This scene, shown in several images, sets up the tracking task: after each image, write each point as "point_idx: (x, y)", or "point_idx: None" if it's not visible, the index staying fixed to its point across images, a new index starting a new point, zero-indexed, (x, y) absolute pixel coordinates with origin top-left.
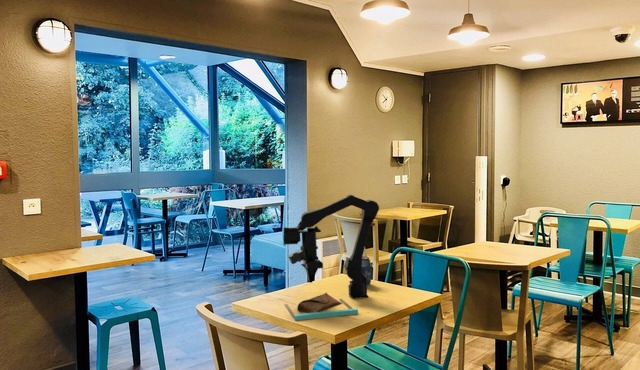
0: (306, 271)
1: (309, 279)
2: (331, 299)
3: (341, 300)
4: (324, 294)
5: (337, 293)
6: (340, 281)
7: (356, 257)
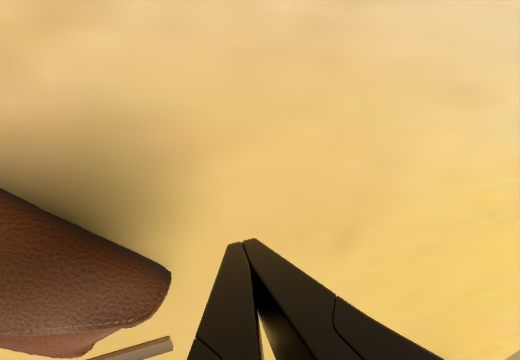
0: (344, 348)
1: (217, 278)
2: (21, 340)
3: (129, 353)
4: (32, 325)
5: None
6: (503, 305)
7: None
